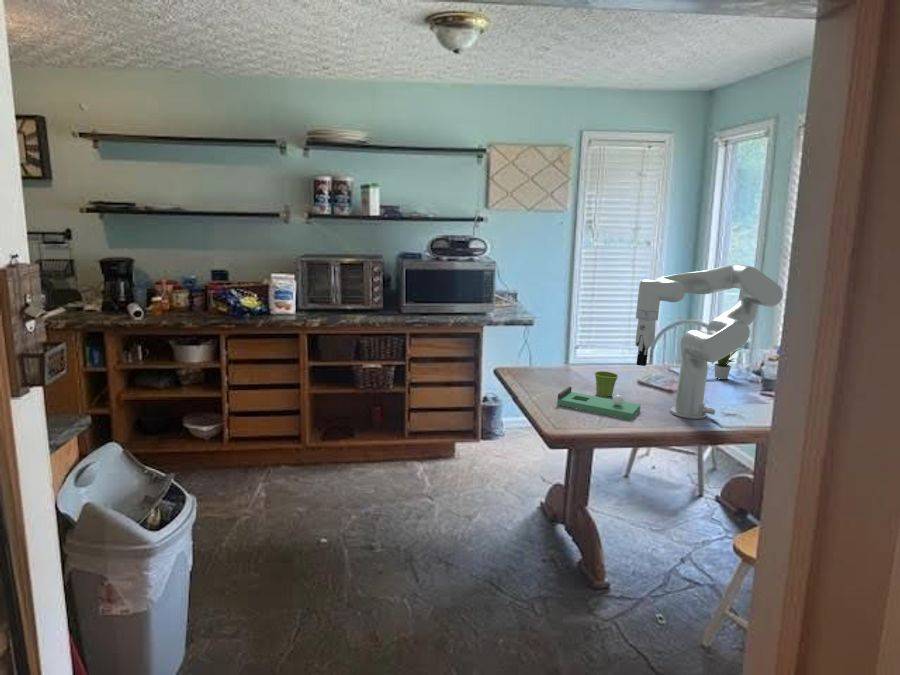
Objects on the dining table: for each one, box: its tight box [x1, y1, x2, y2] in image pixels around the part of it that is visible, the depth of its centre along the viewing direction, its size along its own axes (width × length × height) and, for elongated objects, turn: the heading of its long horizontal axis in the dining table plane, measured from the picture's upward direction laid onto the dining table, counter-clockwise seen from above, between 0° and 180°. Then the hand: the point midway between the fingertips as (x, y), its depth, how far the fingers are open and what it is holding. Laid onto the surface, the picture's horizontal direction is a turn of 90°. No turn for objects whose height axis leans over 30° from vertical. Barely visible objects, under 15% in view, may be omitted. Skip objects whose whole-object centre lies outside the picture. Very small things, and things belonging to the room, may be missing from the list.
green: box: [556, 386, 641, 421], centre depth 244 cm, size 28×13×4 cm, turn 61°
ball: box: [612, 394, 625, 406], centre depth 241 cm, size 4×4×4 cm
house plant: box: [713, 348, 741, 380], centre depth 298 cm, size 14×14×16 cm
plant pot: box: [594, 370, 619, 398], centre depth 262 cm, size 9×9×9 cm
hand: (641, 365), depth 235 cm, fingers closed
